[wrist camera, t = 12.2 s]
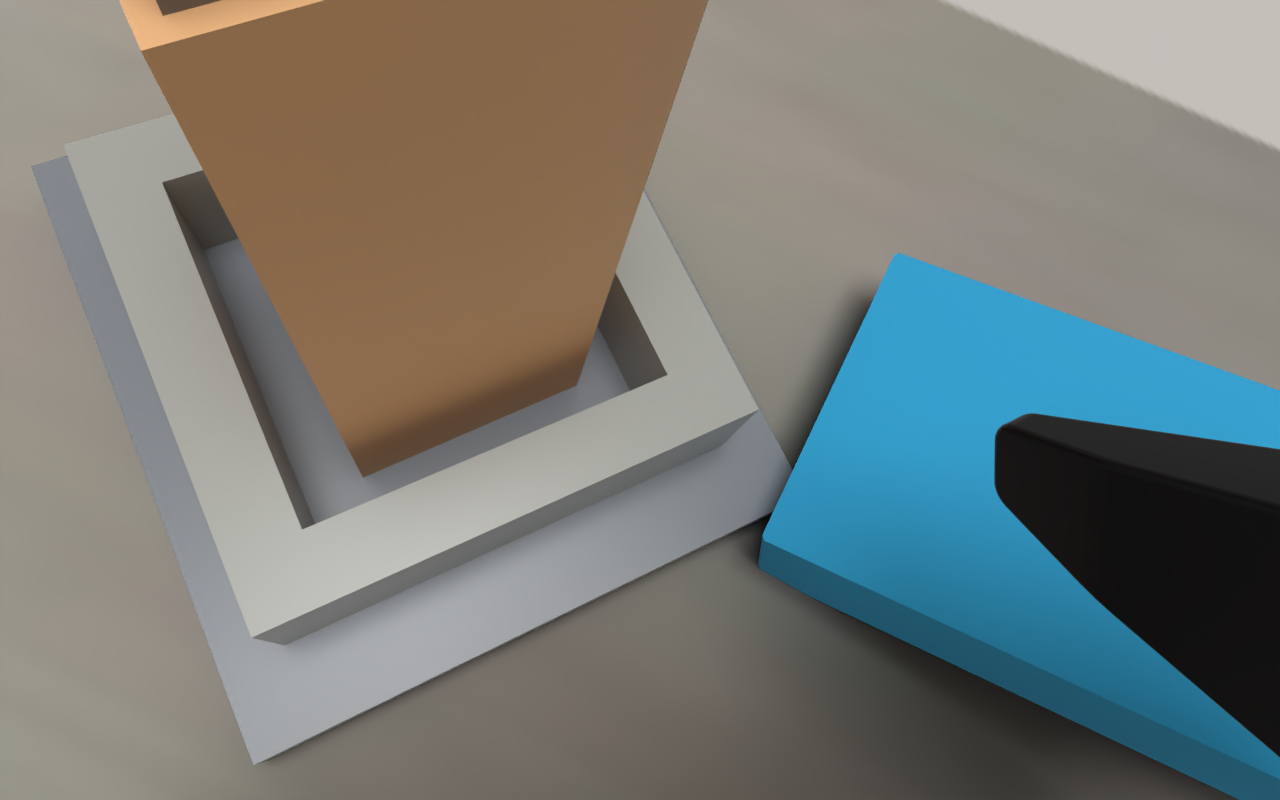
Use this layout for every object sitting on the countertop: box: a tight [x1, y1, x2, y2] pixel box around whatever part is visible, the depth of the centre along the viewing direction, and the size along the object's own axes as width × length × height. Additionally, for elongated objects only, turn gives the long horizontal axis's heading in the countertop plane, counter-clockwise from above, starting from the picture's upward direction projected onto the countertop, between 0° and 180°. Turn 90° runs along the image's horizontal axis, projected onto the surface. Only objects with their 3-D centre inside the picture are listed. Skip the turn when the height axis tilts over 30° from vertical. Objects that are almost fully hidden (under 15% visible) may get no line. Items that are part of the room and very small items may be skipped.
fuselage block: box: [119, 0, 708, 478], centre depth 12 cm, size 4×4×13 cm
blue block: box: [758, 253, 1280, 800], centre depth 19 cm, size 7×7×18 cm
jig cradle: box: [31, 114, 793, 765], centre depth 17 cm, size 12×11×4 cm
